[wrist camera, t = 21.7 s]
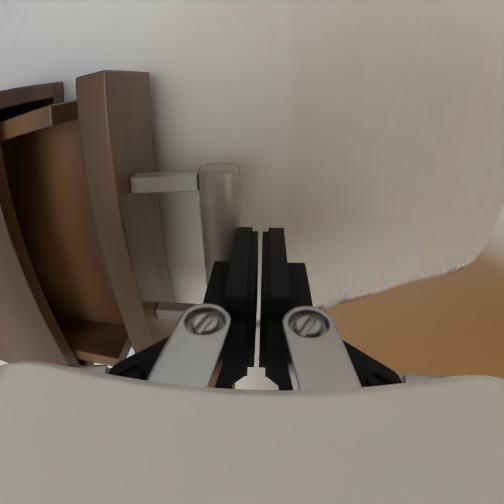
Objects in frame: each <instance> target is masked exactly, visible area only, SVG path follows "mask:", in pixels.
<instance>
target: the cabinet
mask: <svg viewBox="0 0 504 504" xmlns="http://www.w3.org/2000/svg"><path fill="white" fill-rule="evenodd" d="M63 102H64V101H63V84H62V82H55V83H46V84H39V85H32V86H25V87H19V88H13V89H8V90H3V91H0V122H3V121H5V120H8V119H11V118H13V117H16V116H19V115H22V114H24V113H27V112H30V111H33V110H36V109H39V108H43V107H46V106H49V105H53V104H58V103H63ZM0 360H2V361H5V362H7V363H14V362H23V361H27V362H45V363H53V364H58V365H93V364H94V362H90V361H85V360H81V359H76V358H75V356H74V354H73V352H72V350H71V349H70V347H69V345H68V343H67V341H66V339H65V337H64V335H63V334H62V332H61V330H60V328H59V326H58V324H57V322H56V319H55V317H54V315H53V313H52V311H51V309H50V307H49V304H48V302H47V300H46V298H45V295H44V293H43V291H42V288H41V286H40V284H39V281H38V279H37V276H36V274H35V271H34V268H33V266H32V263H31V260H30V258H29V255H28V252H27V249H26V246H25V243H24V240H23V237H22V234H21V231H20V227H19V224H18V220H17V217H16V213H15V210H14V206H13V202H12V198H11V194H10V190H9V185H8V181H7V176H6V171H5V166H4V160H3V154H2V148H1V141H0Z"/></svg>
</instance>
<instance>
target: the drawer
mask: <svg viewBox="0 0 504 504" xmlns="http://www.w3.org/2000/svg"><path fill="white" fill-rule="evenodd" d="M76 93H77V100H74V101H68V102H63V103H58V104H53V105H49V106H46V107H43V108H39V109H36V110H33V111H30V112H27V113H24V114H22V115H19V116H16V117H13V118H11V119H8V120H5V121H3V122H0V141H1V148H2V154H3V160H4V166H5V171H6V176H7V181H8V185H9V190H10V194H11V198H12V202H13V206H14V210H15V213H16V217H17V220H18V224H19V227H20V231H21V234H22V237H23V240H24V243H25V246H26V249H27V252H28V255H29V258H30V260H31V263H32V266H33V268H34V271H35V274H36V276H37V279H38V281H39V284H40V286H41V288H42V291H43V293H44V295H45V298H46V300H47V302H48V304H49V307H50V309H51V311H52V313H53V315H54V317H55V319H56V322H57V324H58V326H59V328H60V330H61V332H62V334H63V335H64V337H65V339H66V341H67V343H68V345H69V347H70V349H71V350H72V352H73V354H74V356H75V358H76V359H81V360H85V361H90V362H95V363H99V364H105V365H110V366H114V365H116V364H117V363H119V362H120V361H122V360H124V359H126V357H127V355H128V353H129V350H130V348H131V346H133V349H134V351H135V354H136V353H138V352H140V351H142V350H143V349H145V348H147V347H149V346H151V345H153V344H155V343H157V342H159V341H161V340H163V339H165V338H166V337H168V336H170V334H171V332H172V331H173V329H174V327H175V325H176V323H177V321H178V320H179V318H180V316H181V315H182V313H183V312H184V311H185V310H187V309H188V308H190V307H192V306H194V305H197V304H187V303H174V297H173V292H172V287H171V281H170V275H169V270H168V264H167V258H166V251H165V245H164V238H163V232H162V225H161V217H160V210H159V202H158V193H157V192H197V191H198V190H199V193H200V208H201V222H202V235H203V247H204V258H205V269H206V279H207V286H208V283H209V279H210V275H211V272H212V268H213V264H214V262H215V261H231V257H232V252H233V247H234V242H235V237H236V232H237V227H240V168H239V166H237V165H235V164H231V163H212V164H207V165H204V166H201V167H200V168H199V170H198V171H181V172H156V173H155V165H154V154H153V142H152V129H151V113H150V92H149V73H148V72H137V71H117V70H103V71H99V72H95V73H91V74H87V75H83V76H80V77H78V78H76Z"/></svg>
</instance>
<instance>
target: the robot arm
mask: <svg viewBox="0 0 504 504" xmlns="http://www.w3.org/2000/svg"><path fill="white" fill-rule="evenodd" d="M257 282H258V231H252V227H237V232H236V237H235V242H234V247H233V252H232V257H231V261H215V262H214V264H213V268H212V272H211V275H210V279H209V283H208V286H207V290H206V294H205V298H204V302H203V304H197V305H194V306H192V307H190V308H188V309H187V310H185V311H184V312H183V313H182V315H181V316H180V318H179V320H178V321H177V323H176V325H175V327H174V329H173V331H172V332H171V334H170V336H168V337H166V338H165V339H163V340H161V341H159V342H157V343H155V344H153V345H151V346H149V347H147V348H145V349H143V350H142V351H140V352H138V353H136V354H134V355H132V356H130V357H128V358H126V359H124V360H122V361H120V362H119V363H117V364H116V365H114V366H113V367H112V368H108V367H107V365H58V364H53V363H45V362H27V361H23V362H14V363H8V364H5V365H2V366H0V504H504V379H501V378H495V377H490V376H475V375H468V376H455V377H445V376H427V375H414V374H405V375H404V377H399V376H398V375H397V374H396V373H395V372H394V371H392V370H391V369H389V368H388V367H386V366H384V365H383V364H381V363H379V362H378V361H376V360H374V359H373V358H371V357H369V356H368V355H366V354H365V353H363V352H361V351H359V350H358V349H356V348H355V347H353V346H351V345H350V344H348V343H346V342H345V341H343V340H342V338H341V336H340V334H339V332H338V329H337V327H336V325H335V323H334V320H333V319H332V317H331V316H330V315H329V314H328V313H327V312H326V311H324V310H322V309H320V308H317V307H313V305H312V299H311V294H310V288H309V282H308V277H307V272H306V266H305V263H287V256H286V246H285V237H284V228H269V231H268V232H263V242H262V277H261V314H260V353H259V354H260V355H259V367H265V369H266V370H265V376H266V377H268V378H269V379H271V380H272V381H273V382H274V383H275V384H276V390H243V389H242V390H241V389H235V382H237V381H238V380H240V379H241V378H242V377H244V376H247V367H254V353H255V334H256V333H255V331H256V313H257Z"/></svg>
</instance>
